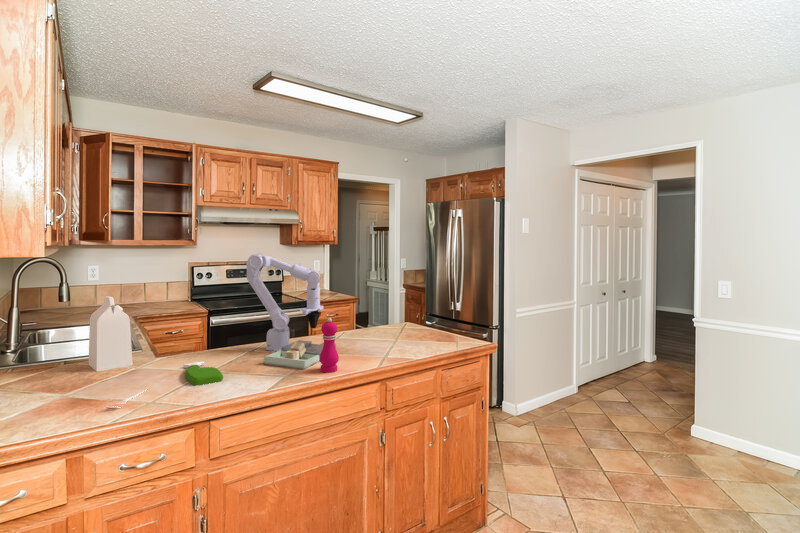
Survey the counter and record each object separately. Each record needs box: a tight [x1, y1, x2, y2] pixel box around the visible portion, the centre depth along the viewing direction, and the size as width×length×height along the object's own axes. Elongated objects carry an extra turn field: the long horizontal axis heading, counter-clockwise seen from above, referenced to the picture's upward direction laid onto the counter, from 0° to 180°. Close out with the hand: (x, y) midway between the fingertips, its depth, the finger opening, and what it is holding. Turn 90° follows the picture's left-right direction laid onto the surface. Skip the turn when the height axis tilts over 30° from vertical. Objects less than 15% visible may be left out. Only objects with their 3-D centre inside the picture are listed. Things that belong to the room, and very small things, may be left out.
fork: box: [104, 388, 148, 409], centre depth 133 cm, size 3×20×2 cm, turn 179°
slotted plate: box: [281, 339, 337, 358], centre depth 186 cm, size 18×14×4 cm
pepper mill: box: [319, 317, 340, 374], centre depth 165 cm, size 7×7×20 cm
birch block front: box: [285, 350, 299, 360], centre depth 174 cm, size 4×4×4 cm
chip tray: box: [263, 350, 320, 370], centre depth 174 cm, size 18×11×3 cm, turn 71°
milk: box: [88, 295, 134, 372], centre depth 166 cm, size 12×12×26 cm
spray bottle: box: [182, 361, 224, 386], centre depth 157 cm, size 3×11×24 cm
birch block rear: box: [291, 341, 306, 357], centre depth 178 cm, size 4×4×4 cm
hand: (313, 328), depth 196 cm, fingers closed
